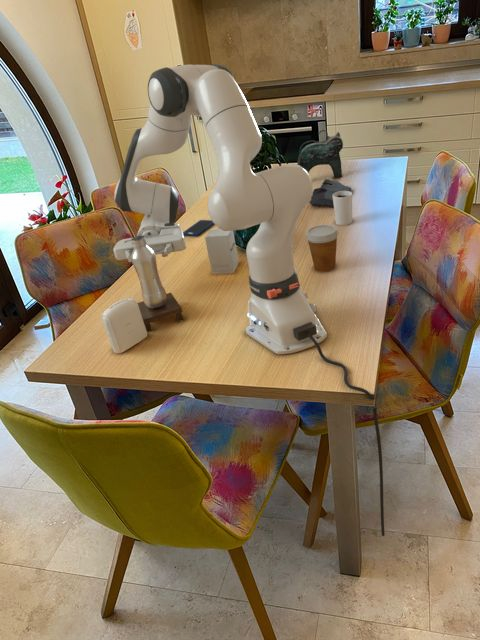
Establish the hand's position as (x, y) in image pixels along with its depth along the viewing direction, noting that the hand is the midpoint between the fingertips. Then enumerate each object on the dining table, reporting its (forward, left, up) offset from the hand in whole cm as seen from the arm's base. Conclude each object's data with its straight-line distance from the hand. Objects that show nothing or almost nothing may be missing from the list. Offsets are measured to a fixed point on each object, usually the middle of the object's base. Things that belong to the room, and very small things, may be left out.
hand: (147, 256), depth 154 cm
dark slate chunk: (+46, -81, -17) cm, 95 cm away
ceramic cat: (+70, -91, -17) cm, 116 cm away
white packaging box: (+13, -25, -17) cm, 33 cm away
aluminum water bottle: (-5, +2, -13) cm, 14 cm away
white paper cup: (+21, -73, -17) cm, 78 cm away
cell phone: (+54, -29, -17) cm, 63 cm away
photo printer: (-13, +12, -17) cm, 25 cm away
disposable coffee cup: (-7, -50, -17) cm, 53 cm away
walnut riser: (-5, +2, -17) cm, 17 cm away
